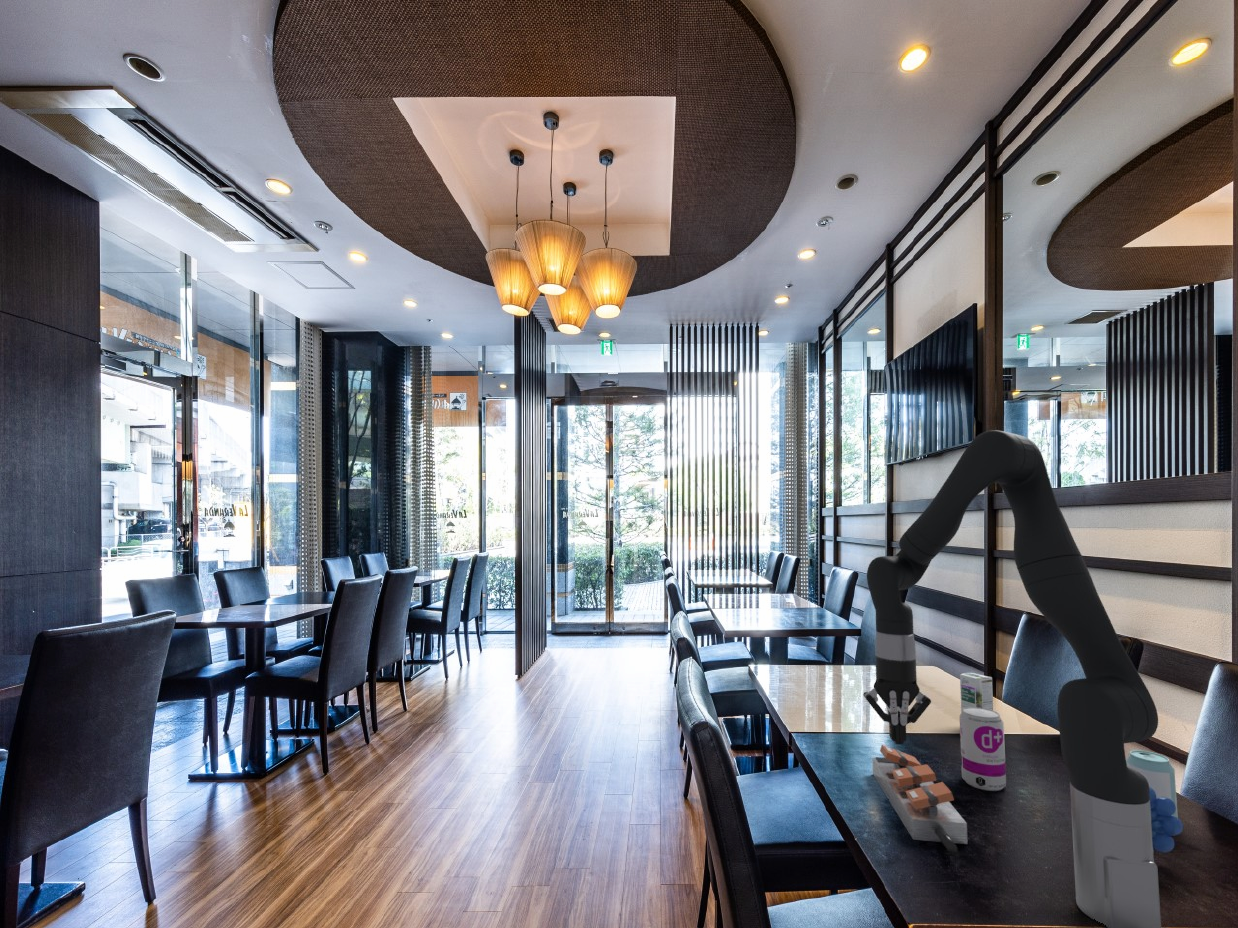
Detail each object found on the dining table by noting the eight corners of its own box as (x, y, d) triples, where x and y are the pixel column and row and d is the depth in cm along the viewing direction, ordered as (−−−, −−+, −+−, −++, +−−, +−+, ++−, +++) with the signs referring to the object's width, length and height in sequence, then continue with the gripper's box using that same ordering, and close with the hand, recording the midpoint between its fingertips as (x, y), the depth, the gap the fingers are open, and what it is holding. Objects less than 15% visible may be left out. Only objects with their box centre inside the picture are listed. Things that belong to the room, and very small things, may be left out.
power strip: (982, 862, 101) (981, 834, 102) (924, 857, 103) (923, 829, 103) (915, 776, 135) (914, 755, 135) (872, 773, 136) (872, 752, 137)
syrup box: (960, 728, 167) (958, 673, 168) (975, 725, 169) (972, 671, 170) (980, 735, 162) (978, 678, 163) (995, 731, 164) (992, 676, 165)
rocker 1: (919, 772, 128) (921, 764, 128) (885, 759, 130) (887, 751, 130) (912, 763, 133) (914, 755, 133) (879, 751, 134) (882, 743, 134)
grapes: (1176, 854, 104) (1172, 781, 105) (1191, 875, 98) (1185, 797, 99) (1092, 837, 110) (1088, 768, 111) (1100, 855, 104) (1096, 782, 105)
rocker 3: (954, 801, 111) (951, 790, 111) (916, 810, 112) (912, 800, 112) (945, 790, 115) (942, 780, 115) (908, 799, 116) (905, 789, 116)
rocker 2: (936, 781, 120) (934, 772, 120) (900, 787, 120) (897, 778, 121) (929, 772, 124) (926, 763, 124) (893, 778, 125) (891, 768, 125)
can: (1120, 815, 118) (1116, 750, 119) (1143, 809, 121) (1139, 746, 122) (1163, 832, 112) (1159, 764, 113) (1187, 826, 114) (1182, 759, 115)
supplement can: (1013, 793, 127) (1009, 719, 128) (969, 790, 129) (966, 716, 130) (997, 777, 135) (994, 707, 136) (956, 774, 137) (953, 705, 138)
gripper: (865, 657, 122) (868, 747, 120) (936, 660, 120) (940, 751, 118) (857, 649, 129) (859, 734, 128) (923, 652, 127) (926, 738, 126)
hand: (898, 742), depth 123 cm, fingers closed
